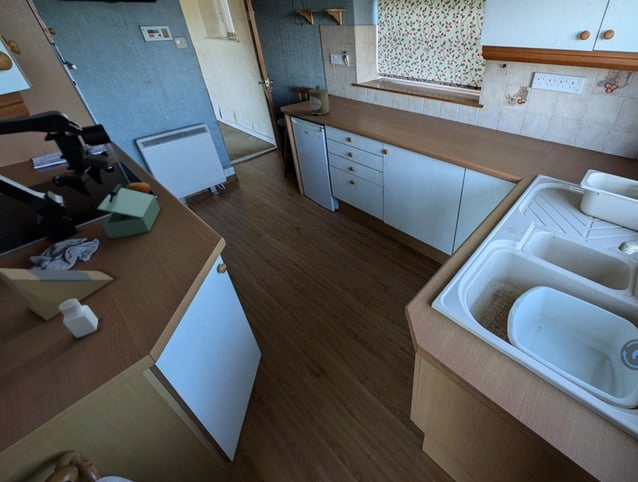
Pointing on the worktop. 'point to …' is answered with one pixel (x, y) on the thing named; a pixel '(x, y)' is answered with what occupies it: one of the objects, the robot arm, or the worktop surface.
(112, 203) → the bin lid
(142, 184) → the fruit
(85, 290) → the sandwich container
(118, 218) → the green lidded box
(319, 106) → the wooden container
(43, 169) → the worktop surface
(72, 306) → the white pill bottle
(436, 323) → the worktop surface
